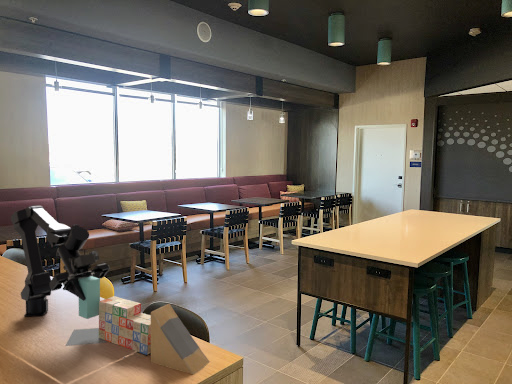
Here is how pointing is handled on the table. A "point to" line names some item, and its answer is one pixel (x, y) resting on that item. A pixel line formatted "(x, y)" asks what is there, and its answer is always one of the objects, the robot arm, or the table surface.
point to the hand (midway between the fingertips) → (91, 297)
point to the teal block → (89, 297)
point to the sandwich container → (174, 343)
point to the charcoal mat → (85, 337)
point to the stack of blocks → (125, 324)
